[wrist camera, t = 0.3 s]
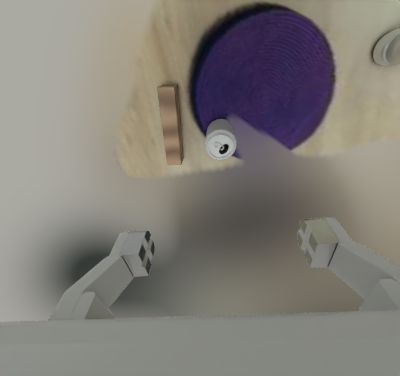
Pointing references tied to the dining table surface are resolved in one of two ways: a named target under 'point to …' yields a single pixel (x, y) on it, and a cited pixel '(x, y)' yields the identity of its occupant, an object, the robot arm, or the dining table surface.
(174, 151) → the wooden block
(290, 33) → the dining table surface
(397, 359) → the robot arm
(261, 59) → the dining table surface
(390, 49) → the plastic bottle
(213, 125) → the can
